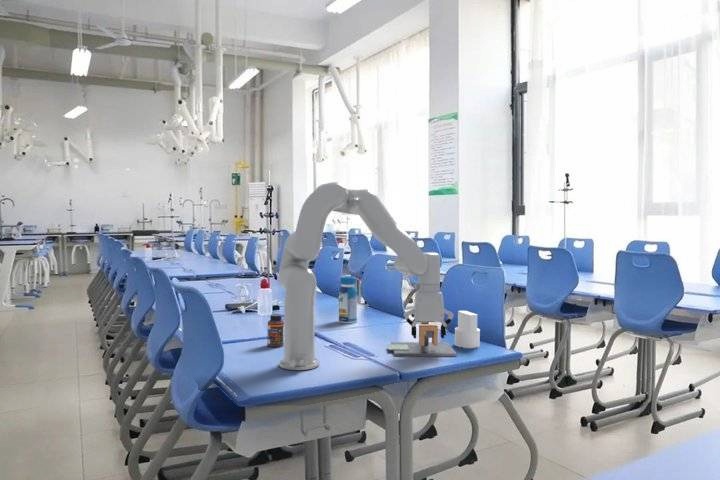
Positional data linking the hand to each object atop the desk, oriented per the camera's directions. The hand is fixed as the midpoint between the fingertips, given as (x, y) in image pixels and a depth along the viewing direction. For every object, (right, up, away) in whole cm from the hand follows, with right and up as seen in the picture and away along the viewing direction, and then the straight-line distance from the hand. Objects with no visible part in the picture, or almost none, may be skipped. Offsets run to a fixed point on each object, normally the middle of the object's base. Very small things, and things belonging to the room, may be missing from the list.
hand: (428, 337), depth 191 cm
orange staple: (0, -2, 0) cm, 2 cm away
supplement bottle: (-54, -5, +10) cm, 55 cm away
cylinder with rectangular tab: (+16, -5, +12) cm, 20 cm away
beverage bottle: (-29, -3, +54) cm, 62 cm away
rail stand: (-2, -5, +4) cm, 7 cm away
